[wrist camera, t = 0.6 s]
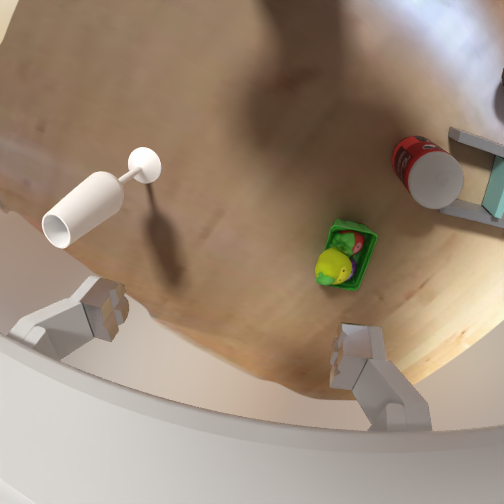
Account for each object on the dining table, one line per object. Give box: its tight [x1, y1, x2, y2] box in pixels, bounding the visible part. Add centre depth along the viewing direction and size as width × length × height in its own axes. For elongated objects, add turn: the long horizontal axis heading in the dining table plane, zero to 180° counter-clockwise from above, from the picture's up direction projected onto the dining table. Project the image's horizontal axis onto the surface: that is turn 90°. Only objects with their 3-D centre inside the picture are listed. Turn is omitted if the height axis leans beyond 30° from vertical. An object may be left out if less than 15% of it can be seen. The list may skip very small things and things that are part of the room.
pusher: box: [482, 155, 504, 219], centre depth 40 cm, size 9×2×5 cm, turn 176°
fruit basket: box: [315, 219, 378, 291], centre depth 49 cm, size 11×9×11 cm
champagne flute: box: [42, 147, 161, 248], centre depth 43 cm, size 7×7×24 cm
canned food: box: [392, 136, 464, 209], centre depth 39 cm, size 8×8×11 cm
